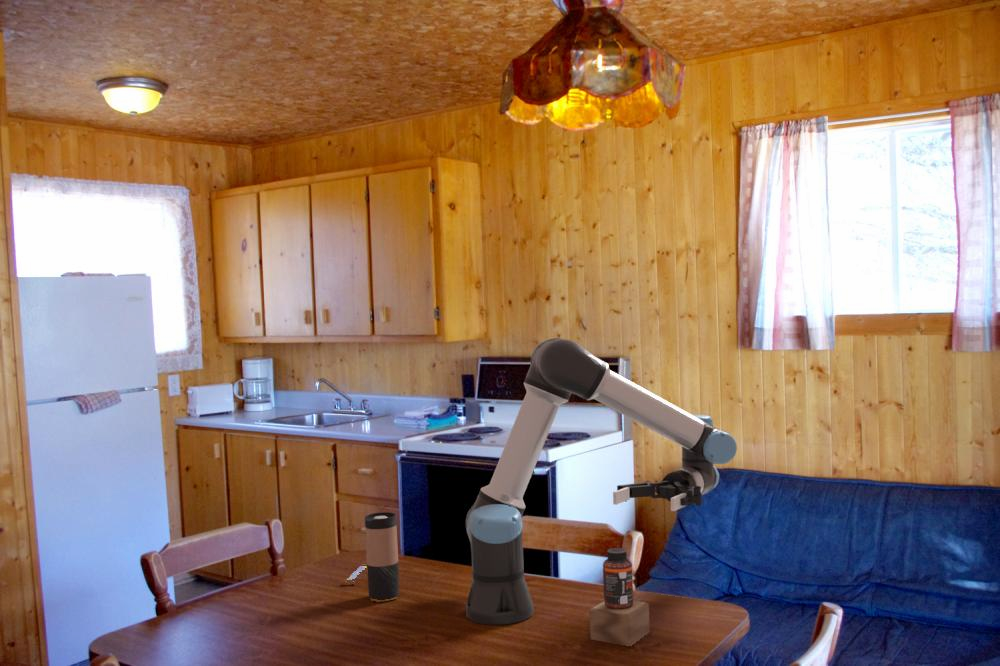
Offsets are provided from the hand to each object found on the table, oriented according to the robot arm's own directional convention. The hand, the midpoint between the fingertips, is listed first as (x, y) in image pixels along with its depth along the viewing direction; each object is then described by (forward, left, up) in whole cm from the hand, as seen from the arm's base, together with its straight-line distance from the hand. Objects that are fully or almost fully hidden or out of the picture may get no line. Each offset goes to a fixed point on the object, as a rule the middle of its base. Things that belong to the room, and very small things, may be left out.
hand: (642, 501), depth 189 cm
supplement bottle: (-1, -12, -19) cm, 23 cm away
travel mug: (-63, -15, -26) cm, 69 cm away
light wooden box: (-1, -12, -25) cm, 28 cm away
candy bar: (-81, -5, -26) cm, 85 cm away
